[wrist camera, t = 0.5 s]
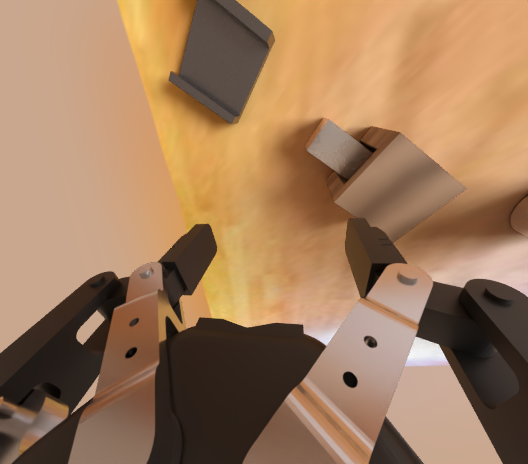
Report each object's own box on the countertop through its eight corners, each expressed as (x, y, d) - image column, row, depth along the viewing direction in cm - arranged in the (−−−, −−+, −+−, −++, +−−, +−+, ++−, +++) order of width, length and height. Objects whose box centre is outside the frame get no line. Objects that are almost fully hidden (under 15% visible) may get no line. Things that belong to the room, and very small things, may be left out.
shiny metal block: (382, 162, 28) (397, 172, 23) (361, 184, 30) (371, 196, 26) (323, 117, 26) (328, 119, 21) (305, 144, 28) (306, 150, 24)
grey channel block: (274, 39, 22) (272, 30, 20) (237, 123, 27) (231, 124, 25) (206, -17, 20) (194, -35, 18) (181, 83, 26) (168, 80, 23)
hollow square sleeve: (422, 168, 27) (467, 188, 20) (371, 213, 32) (392, 242, 25) (371, 126, 25) (400, 132, 18) (325, 180, 30) (334, 202, 23)
